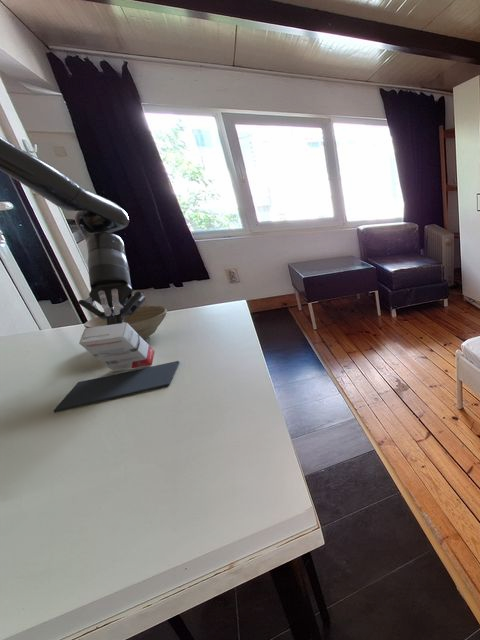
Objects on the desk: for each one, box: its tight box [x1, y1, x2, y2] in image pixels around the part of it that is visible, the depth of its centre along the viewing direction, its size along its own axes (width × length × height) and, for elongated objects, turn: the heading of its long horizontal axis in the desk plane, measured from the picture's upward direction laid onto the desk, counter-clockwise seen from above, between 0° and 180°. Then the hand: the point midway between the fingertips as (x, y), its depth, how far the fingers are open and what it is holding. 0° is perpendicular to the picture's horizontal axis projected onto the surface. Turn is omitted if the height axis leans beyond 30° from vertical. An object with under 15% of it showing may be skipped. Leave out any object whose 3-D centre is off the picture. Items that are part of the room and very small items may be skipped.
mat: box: [53, 360, 180, 413], centre depth 85 cm, size 20×13×1 cm, turn 117°
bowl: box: [83, 305, 168, 340], centre depth 107 cm, size 18×18×8 cm
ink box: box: [78, 323, 155, 372], centre depth 89 cm, size 8×5×12 cm
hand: (117, 331), depth 89 cm, fingers closed
